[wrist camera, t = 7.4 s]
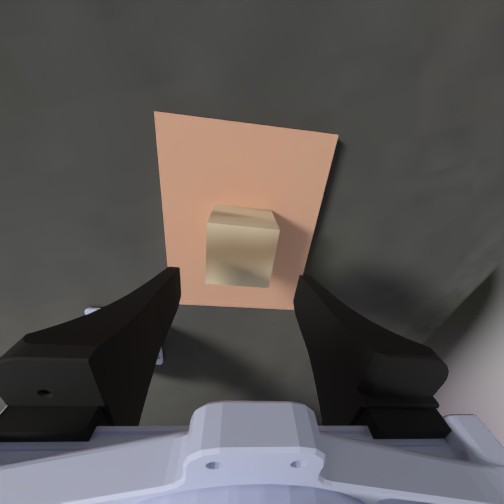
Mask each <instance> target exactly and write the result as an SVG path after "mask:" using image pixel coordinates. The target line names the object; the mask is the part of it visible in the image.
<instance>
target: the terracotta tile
mask: <svg viewBox="0 0 504 504" xmlns="http://www.w3.org/2000/svg"><path fill="white" fill-rule="evenodd" d="M154 116H155V128H156V139H157V151H158V162H159V173H160V185H161V196H162V208H163V219H164V230H165V242H166V253H167V265H168V267H180V280H181V298H180V302H179V304H186V305H206V306H226V307H247V308H267V309H287V310H294V304H293V299H294V295H295V291H296V287H297V283H298V279H299V275H303V272H304V268H305V265H306V261H307V257H308V253H309V249H310V245H311V241H312V237H313V233H314V229H315V225H316V222H317V218H318V214H319V210H320V206H321V202H322V198H323V194H324V190H325V186H326V182H327V179H328V175H329V171H330V167H331V163H332V159H333V155H334V151H335V147H336V143H337V139H338V135H335V134H327V133H320V132H312V131H304V130H296V129H288V128H281V127H273V126H265V125H257V124H249V123H241V122H234V121H226V120H218V119H210V118H202V117H194V116H187V115H179V114H171V113H163V112H155V111H154ZM215 204H222V205H232V206H241V207H250V208H259V209H268V210H271V211H272V213H273V216H274V218H275V220H276V222H277V224H278V227H279V229H280V232H279V237H278V243H277V248H276V253H275V258H274V263H273V268H272V273H271V278H270V283H269V288H258V287H244V286H231V285H217V284H205V273H206V238H207V221H208V219H209V217H210V214H211V212H212V210H213V207H214V205H215Z"/></svg>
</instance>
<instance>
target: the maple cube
mask: <svg viewBox="0 0 504 504" xmlns="http://www.w3.org/2000/svg"><path fill="white" fill-rule="evenodd" d="M279 232H280V229H279V227H278V224H277V222H276V220H275V218H274V216H273V213H272V211H271V210H268V209H259V208H250V207H241V206H232V205H222V204H215V205H214V207H213V210H212V212H211V214H210V217H209V219H208V221H207V238H206V273H205V284H217V285H231V286H244V287H258V288H269V283H270V278H271V273H272V268H273V263H274V258H275V253H276V248H277V243H278V237H279Z"/></svg>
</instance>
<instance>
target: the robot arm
mask: <svg viewBox="0 0 504 504" xmlns="http://www.w3.org/2000/svg"><path fill="white" fill-rule="evenodd" d="M180 298H181V280H180V267H168V268H166V269H165V270H164V271H162V272H161V273H159V274H158V275H157V276H155V277H154V278H153V279H151V280H150V281H148V282H147V283H146V284H144V285H142V286H141V287H139V288H138V289H136V290H135V291H133V292H131V293H130V294H128V295H126V296H125V297H123V298H121V299H119V300H117V301H115V302H113V303H111V304H109V305H107V306H105V307H103V308H91V307H90V308H87V309H86V310H85V315H84V316H82V317H79V318H76V319H74V320H71V321H68V322H65V323H62V324H59V325H56V326H53V327H50V328H46V329H43V330H40V331H36V332H33V333H29V334H26V335H25V336H24V337H23V338H22V339H20V340H19V341H18V342H17V343H16V344H15V345H14V346H13V347H11V348H10V349H9V350H8V351H7V352H6V353H5V354H4V355H2V356H1V357H0V396H1V398H2V399H3V400H4V402H5V403H6V404H7V406H6V407H5V409H4V410H3V411H2V412H1V413H0V504H504V447H503V446H502V444H501V443H500V442H499V441H498V440H497V439H496V438H495V436H494V435H493V434H492V433H491V432H490V431H489V429H488V428H487V427H486V426H485V425H484V424H483V423H482V421H481V420H480V419H479V418H478V417H477V416H476V415H473V414H451V415H446V416H443V417H442V416H441V415H440V414H439V412H438V411H437V409H436V408H438V407H439V404H438V402H437V401H436V400H435V398H434V397H433V395H434V394H435V393H436V392H437V391H438V389H439V388H440V387H441V386H442V385H443V384H444V382H445V381H446V379H447V377H448V372H449V371H448V367H447V365H446V364H445V363H444V362H443V361H442V360H441V359H440V358H439V357H438V355H437V354H436V353H435V352H434V351H433V350H432V349H431V348H429V347H426V346H424V345H422V344H419V343H417V342H414V341H412V340H409V339H406V338H404V337H402V336H400V335H398V334H395V333H393V332H391V331H389V330H387V329H385V328H383V327H381V326H379V325H377V324H375V323H374V322H372V321H370V320H368V319H366V318H365V317H363V316H361V315H360V314H358V313H357V312H355V311H354V310H352V309H351V308H349V307H348V306H346V305H345V304H344V303H342V302H341V301H340V300H338V299H337V298H336V297H334V296H333V295H332V294H331V293H330V292H328V291H327V290H326V289H325V288H324V287H322V286H321V285H320V284H319V283H318V282H317V281H315V280H314V279H313V278H312V277H310V276H307V275H299V279H298V283H297V287H296V291H295V295H294V299H293V304H294V309H295V314H296V318H297V321H298V324H299V327H300V330H301V332H302V335H303V338H304V341H305V344H306V347H307V350H308V353H309V357H310V361H311V366H312V370H313V374H314V379H315V384H316V389H317V394H318V400H319V405H320V410H321V417H322V423H323V426H318V425H317V421H316V418H315V414H314V411H313V410H311V409H310V408H309V407H307V406H306V405H304V404H303V403H298V402H292V401H217V402H210V403H207V404H205V405H203V406H202V407H200V408H198V409H197V410H195V412H194V414H193V416H192V418H191V421H190V426H139V422H140V418H141V414H142V410H143V406H144V403H145V399H146V396H147V392H148V388H149V385H150V382H151V378H152V375H153V372H154V368H155V365H161V364H162V363H163V353H162V344H163V342H164V340H165V337H166V335H167V333H168V330H169V328H170V326H171V324H172V321H173V319H174V317H175V314H176V312H177V309H178V306H179V302H180Z"/></svg>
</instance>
